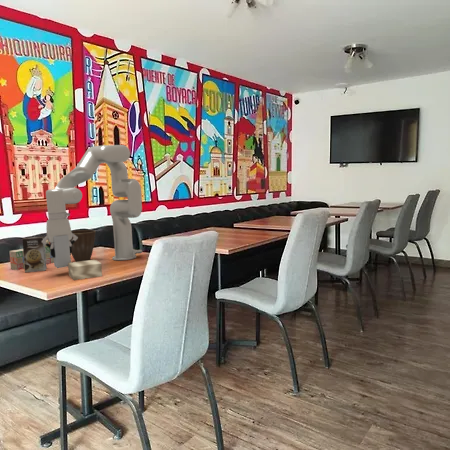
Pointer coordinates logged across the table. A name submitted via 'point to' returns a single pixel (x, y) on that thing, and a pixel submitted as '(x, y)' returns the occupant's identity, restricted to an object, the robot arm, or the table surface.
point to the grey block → (61, 251)
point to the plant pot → (83, 245)
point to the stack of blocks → (18, 258)
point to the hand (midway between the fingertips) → (61, 255)
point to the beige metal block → (85, 269)
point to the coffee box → (34, 254)
